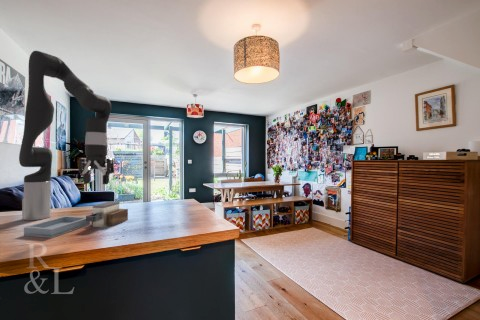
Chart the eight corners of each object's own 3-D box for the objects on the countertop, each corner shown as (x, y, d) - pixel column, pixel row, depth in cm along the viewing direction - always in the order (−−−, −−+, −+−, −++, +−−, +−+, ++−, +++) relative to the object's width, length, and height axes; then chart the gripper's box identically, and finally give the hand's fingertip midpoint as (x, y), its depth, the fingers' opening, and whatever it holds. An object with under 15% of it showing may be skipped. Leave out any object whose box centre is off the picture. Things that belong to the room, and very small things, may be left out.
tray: (23, 235, 80) (23, 227, 80) (65, 222, 95) (65, 215, 95) (51, 237, 78) (51, 229, 78) (89, 224, 93) (89, 217, 93)
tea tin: (84, 229, 87) (84, 207, 87) (109, 220, 100) (109, 201, 100) (95, 230, 86) (95, 208, 86) (119, 221, 99) (119, 202, 99)
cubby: (91, 224, 93) (91, 212, 93) (108, 218, 103) (108, 207, 103) (112, 226, 92) (112, 214, 92) (127, 219, 101) (127, 209, 101)
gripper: (72, 143, 86) (72, 184, 86) (104, 143, 84) (104, 185, 84) (88, 144, 94) (88, 182, 94) (118, 144, 92) (118, 183, 92)
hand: (96, 183), depth 89 cm, fingers open, 8 cm apart
